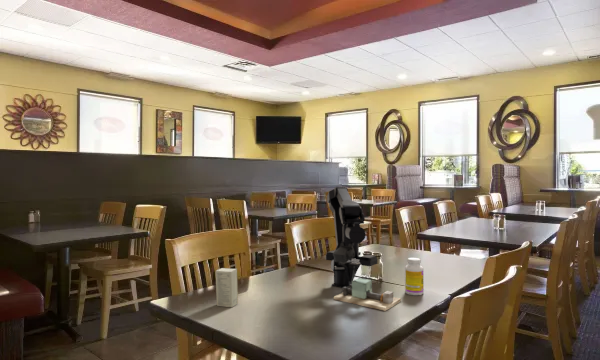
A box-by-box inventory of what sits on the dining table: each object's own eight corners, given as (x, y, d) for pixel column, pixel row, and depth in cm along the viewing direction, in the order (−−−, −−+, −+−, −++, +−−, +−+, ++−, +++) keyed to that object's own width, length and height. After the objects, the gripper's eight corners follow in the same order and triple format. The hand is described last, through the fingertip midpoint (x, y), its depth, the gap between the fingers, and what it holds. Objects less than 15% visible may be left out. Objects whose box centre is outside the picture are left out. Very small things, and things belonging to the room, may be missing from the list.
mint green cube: (351, 296, 139) (351, 281, 139) (359, 292, 143) (359, 278, 143) (364, 298, 136) (364, 283, 136) (371, 295, 140) (371, 280, 140)
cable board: (333, 299, 140) (333, 287, 140) (351, 291, 149) (351, 280, 149) (385, 310, 127) (385, 298, 127) (400, 301, 137) (400, 289, 137)
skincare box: (238, 303, 136) (237, 268, 135) (231, 307, 131) (231, 271, 131) (222, 301, 138) (221, 267, 138) (215, 306, 133) (215, 270, 133)
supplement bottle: (424, 296, 142) (424, 261, 142) (405, 295, 144) (405, 260, 143) (422, 291, 149) (422, 257, 149) (404, 290, 150) (404, 256, 150)
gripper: (316, 239, 142) (317, 282, 142) (362, 244, 130) (362, 291, 130) (333, 235, 150) (334, 276, 150) (377, 239, 139) (378, 284, 139)
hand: (350, 281), depth 142 cm, fingers closed
